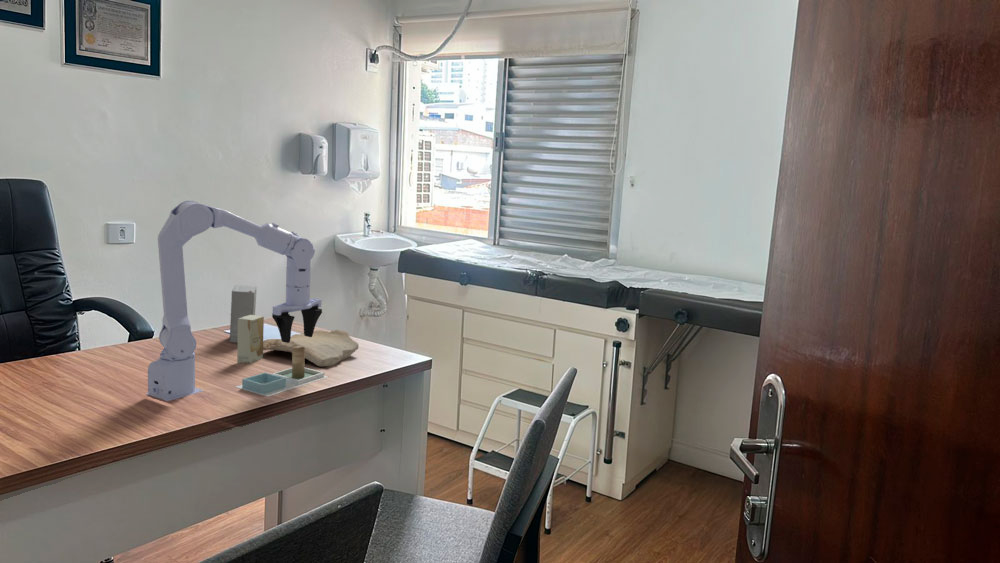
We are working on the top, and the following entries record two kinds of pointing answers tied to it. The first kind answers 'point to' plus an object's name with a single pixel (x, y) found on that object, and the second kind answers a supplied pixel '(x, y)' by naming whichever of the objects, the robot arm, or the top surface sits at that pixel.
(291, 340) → the tan rock slab
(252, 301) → the skincare box
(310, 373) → the organizer
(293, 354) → the dowel
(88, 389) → the top surface
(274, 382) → the teal square tray
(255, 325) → the skincare box
